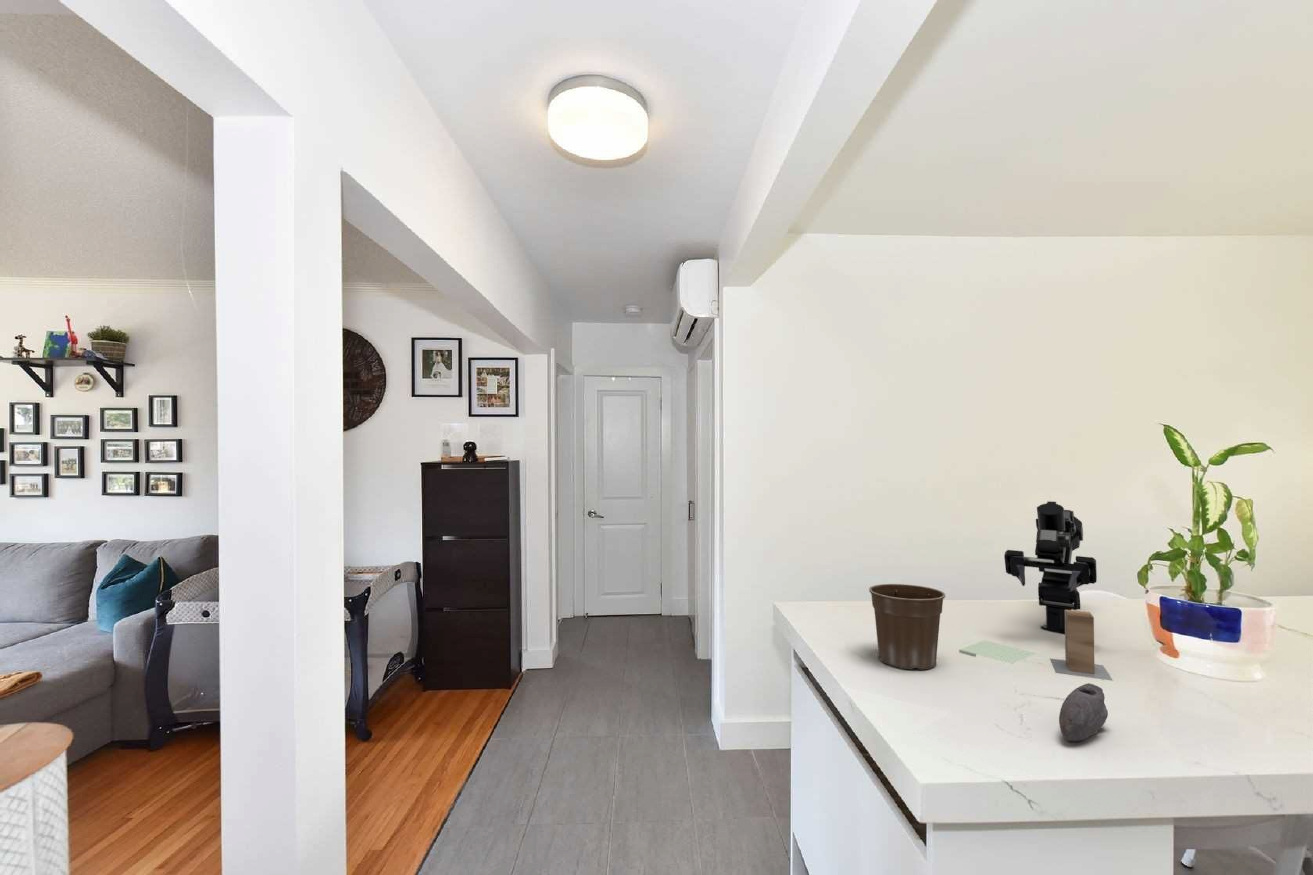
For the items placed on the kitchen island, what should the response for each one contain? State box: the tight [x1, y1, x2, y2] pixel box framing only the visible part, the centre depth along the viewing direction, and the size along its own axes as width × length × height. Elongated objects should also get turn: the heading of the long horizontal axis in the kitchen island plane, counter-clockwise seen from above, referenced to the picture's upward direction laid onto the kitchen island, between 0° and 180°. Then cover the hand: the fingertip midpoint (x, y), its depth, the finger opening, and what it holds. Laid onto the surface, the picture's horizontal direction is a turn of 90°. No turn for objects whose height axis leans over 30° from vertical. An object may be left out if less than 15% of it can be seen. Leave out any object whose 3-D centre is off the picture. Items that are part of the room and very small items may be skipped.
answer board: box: [959, 639, 1037, 665], centre depth 145 cm, size 12×12×1 cm
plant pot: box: [868, 583, 946, 671], centre depth 140 cm, size 16×16×16 cm
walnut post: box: [1064, 609, 1096, 674], centre depth 133 cm, size 5×5×12 cm
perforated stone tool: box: [1058, 682, 1109, 742], centre depth 105 cm, size 15×5×7 cm, turn 127°
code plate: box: [1049, 658, 1114, 681], centre depth 133 cm, size 10×10×1 cm
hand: (1045, 587), depth 143 cm, fingers open, 9 cm apart
